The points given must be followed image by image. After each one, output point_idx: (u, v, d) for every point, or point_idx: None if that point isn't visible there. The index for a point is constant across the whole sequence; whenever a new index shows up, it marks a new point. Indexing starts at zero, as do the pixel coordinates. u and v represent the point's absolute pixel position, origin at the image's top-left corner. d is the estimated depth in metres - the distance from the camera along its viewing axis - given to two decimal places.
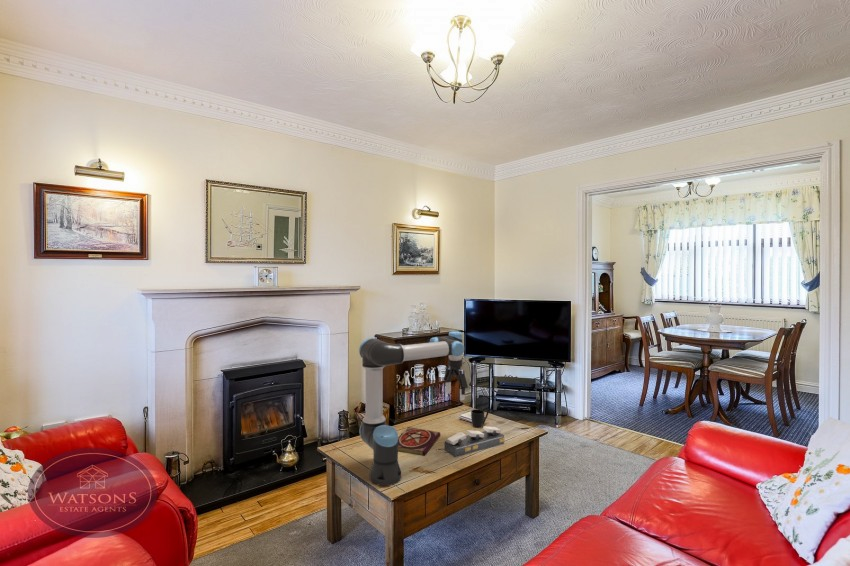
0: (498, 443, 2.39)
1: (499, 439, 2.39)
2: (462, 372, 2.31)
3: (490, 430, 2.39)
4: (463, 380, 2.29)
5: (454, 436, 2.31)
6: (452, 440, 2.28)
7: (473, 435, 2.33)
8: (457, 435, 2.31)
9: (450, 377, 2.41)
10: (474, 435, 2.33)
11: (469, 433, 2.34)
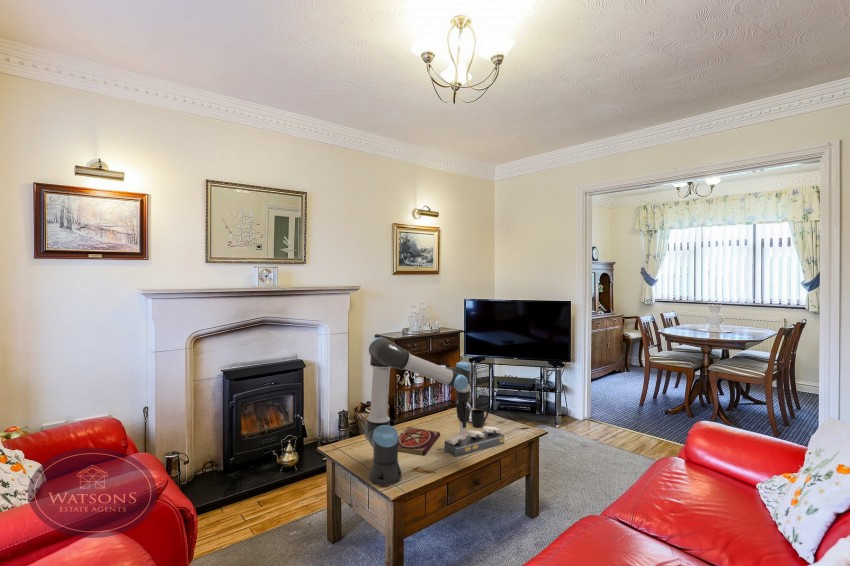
0: (498, 443, 2.39)
1: (499, 439, 2.39)
2: (469, 408, 2.27)
3: (490, 430, 2.39)
4: (467, 415, 2.28)
5: (454, 436, 2.31)
6: (452, 440, 2.28)
7: (473, 435, 2.33)
8: (457, 435, 2.31)
9: None
10: (474, 435, 2.33)
11: (469, 433, 2.34)
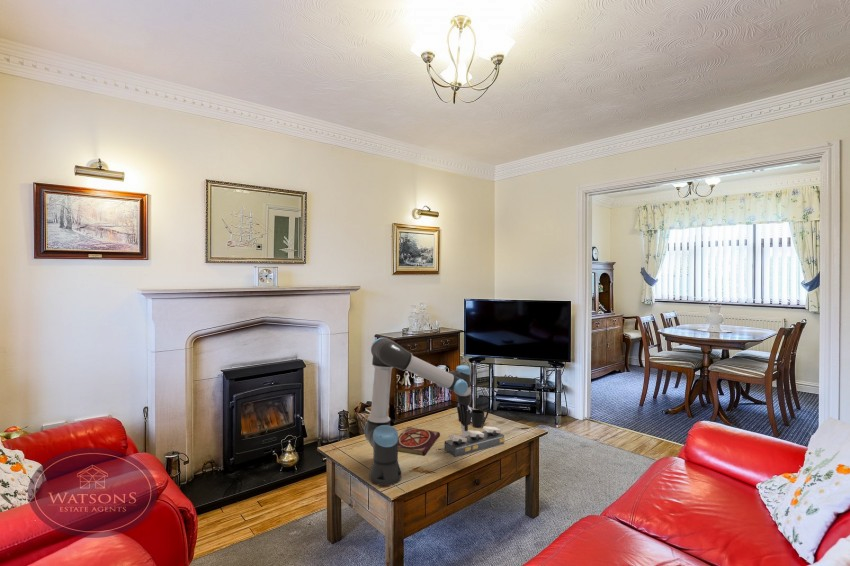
0: (498, 443, 2.39)
1: (499, 439, 2.39)
2: (470, 412, 2.27)
3: (490, 430, 2.39)
4: (468, 418, 2.28)
5: (455, 435, 2.32)
6: (453, 436, 2.28)
7: (473, 435, 2.33)
8: (458, 436, 2.32)
9: None
10: (474, 435, 2.33)
11: (469, 433, 2.34)
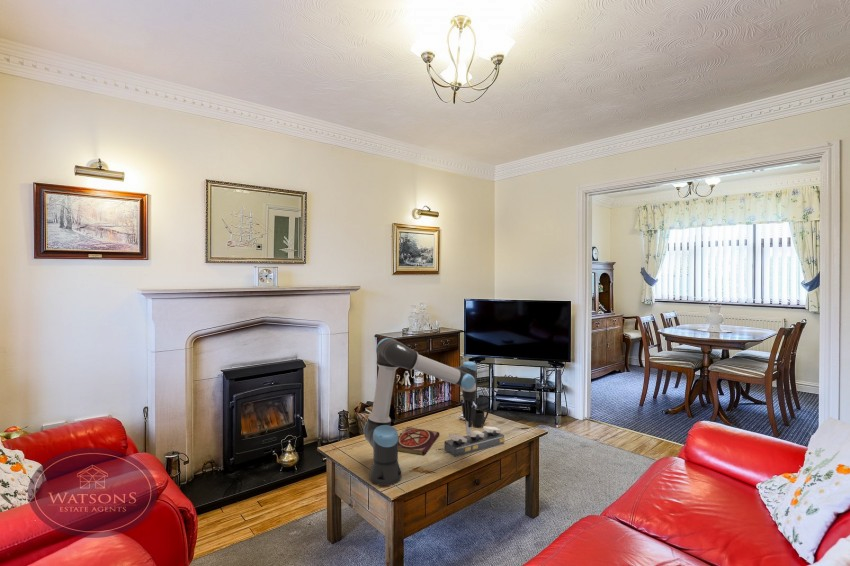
0: (498, 443, 2.39)
1: (499, 439, 2.39)
2: (475, 408, 2.29)
3: (490, 430, 2.39)
4: (473, 414, 2.30)
5: (456, 435, 2.32)
6: (454, 436, 2.28)
7: (473, 435, 2.33)
8: (459, 436, 2.32)
9: None
10: (474, 435, 2.33)
11: (469, 433, 2.34)
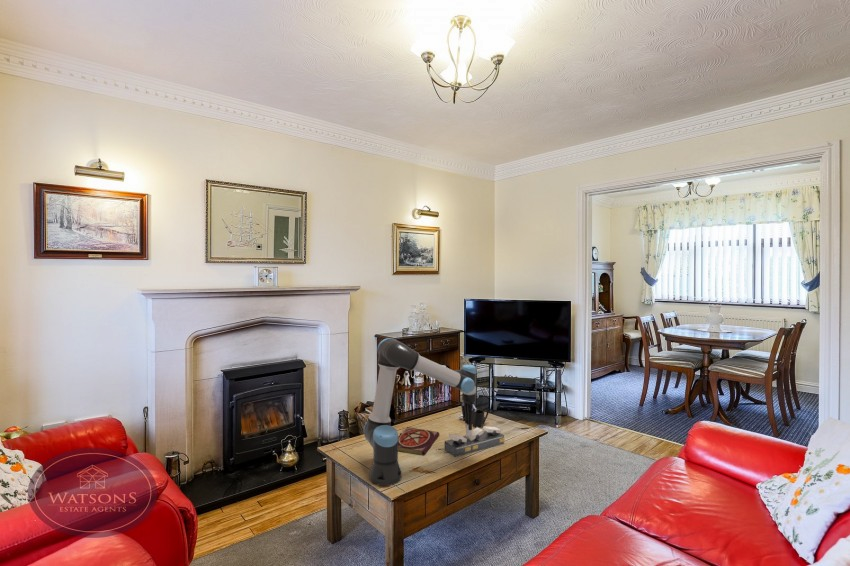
0: (498, 443, 2.39)
1: (499, 439, 2.39)
2: (475, 411, 2.29)
3: (490, 430, 2.39)
4: (473, 417, 2.30)
5: (456, 435, 2.32)
6: (454, 436, 2.28)
7: (473, 438, 2.33)
8: (459, 436, 2.32)
9: None
10: (473, 438, 2.33)
11: (468, 438, 2.34)
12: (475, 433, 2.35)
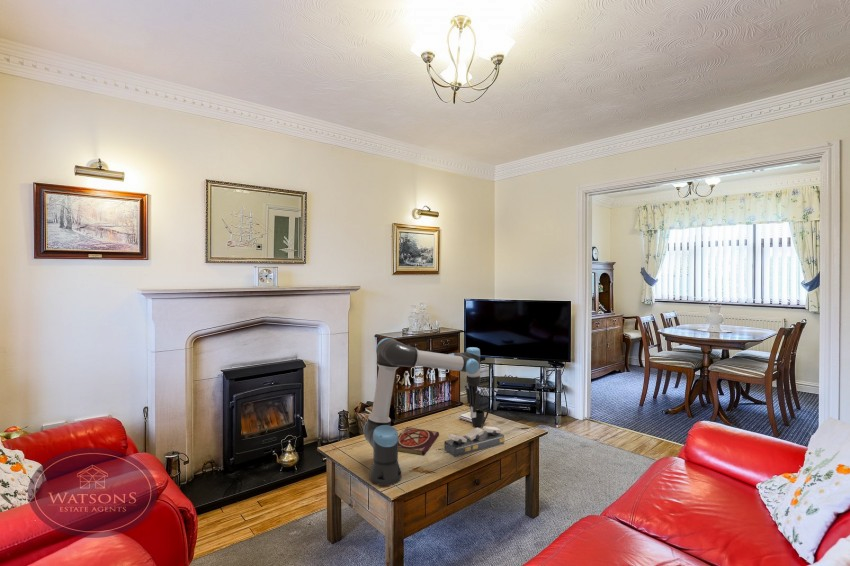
0: (498, 443, 2.39)
1: (499, 439, 2.39)
2: (479, 393, 2.30)
3: (490, 430, 2.39)
4: (477, 399, 2.31)
5: (456, 435, 2.32)
6: (454, 436, 2.28)
7: (473, 438, 2.33)
8: (459, 436, 2.32)
9: None
10: (473, 437, 2.33)
11: (468, 437, 2.34)
12: (475, 433, 2.35)
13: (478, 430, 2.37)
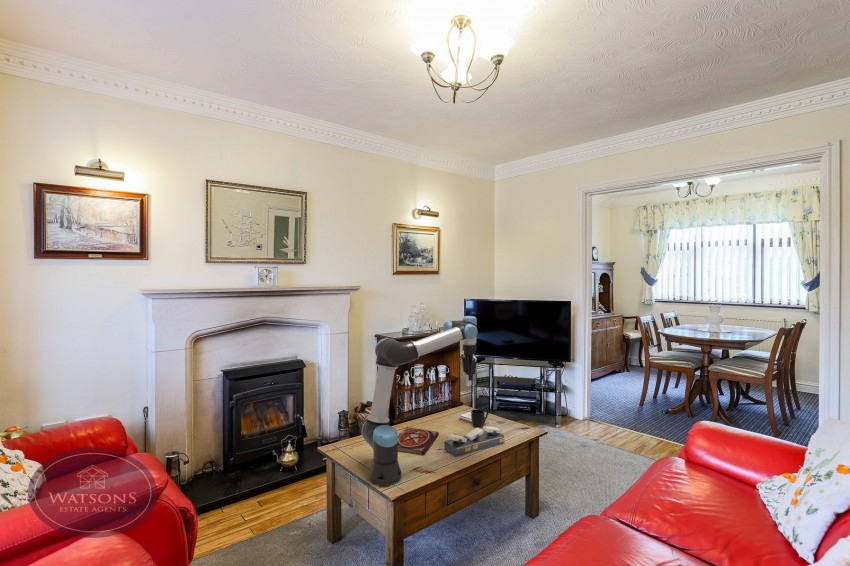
0: (498, 443, 2.39)
1: (499, 439, 2.39)
2: (475, 360, 2.32)
3: (490, 430, 2.39)
4: (473, 367, 2.33)
5: (456, 435, 2.32)
6: (454, 436, 2.28)
7: (473, 438, 2.33)
8: (459, 436, 2.32)
9: None
10: (473, 437, 2.33)
11: (468, 437, 2.34)
12: (475, 433, 2.35)
13: (478, 430, 2.37)
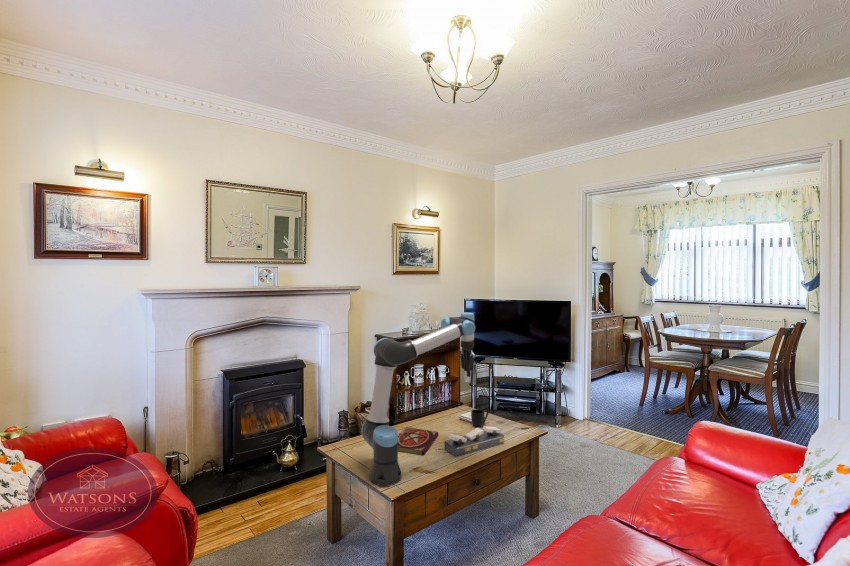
0: (498, 443, 2.39)
1: (499, 439, 2.39)
2: (473, 357, 2.31)
3: (490, 430, 2.39)
4: (471, 363, 2.32)
5: (456, 435, 2.32)
6: (454, 436, 2.28)
7: (473, 438, 2.33)
8: (459, 436, 2.32)
9: None
10: (473, 437, 2.33)
11: (468, 437, 2.34)
12: (475, 433, 2.35)
13: (478, 430, 2.37)
